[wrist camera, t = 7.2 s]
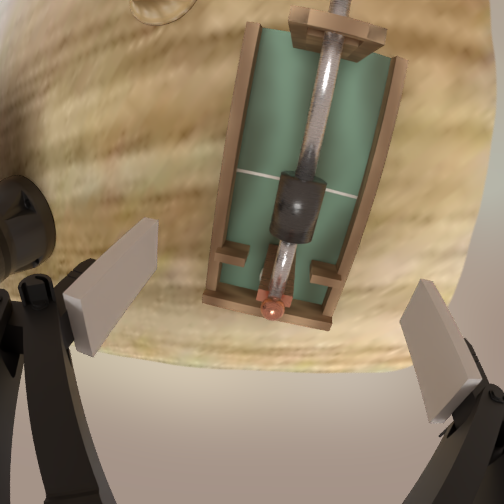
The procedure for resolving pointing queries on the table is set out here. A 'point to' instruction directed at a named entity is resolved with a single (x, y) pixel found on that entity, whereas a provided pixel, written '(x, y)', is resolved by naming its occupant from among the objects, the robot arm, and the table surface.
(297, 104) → the pitch
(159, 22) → the hand bell
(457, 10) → the table surface
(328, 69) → the kicker
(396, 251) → the table surface
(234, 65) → the table surface
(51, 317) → the robot arm
